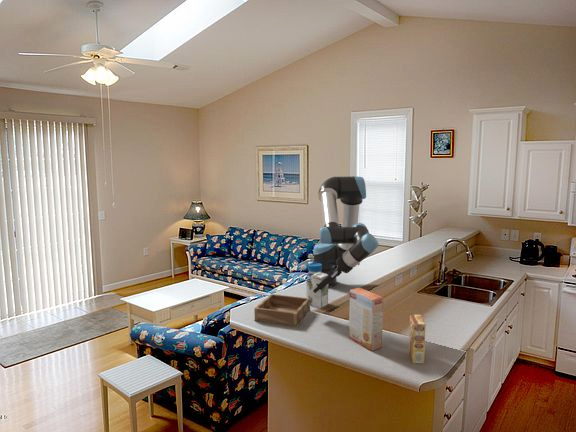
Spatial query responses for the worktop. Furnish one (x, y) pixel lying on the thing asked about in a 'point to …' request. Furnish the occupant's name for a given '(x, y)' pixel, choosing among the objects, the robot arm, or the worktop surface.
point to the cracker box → (366, 318)
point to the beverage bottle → (313, 270)
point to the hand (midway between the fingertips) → (312, 292)
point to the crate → (282, 310)
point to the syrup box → (322, 295)
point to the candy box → (417, 339)
